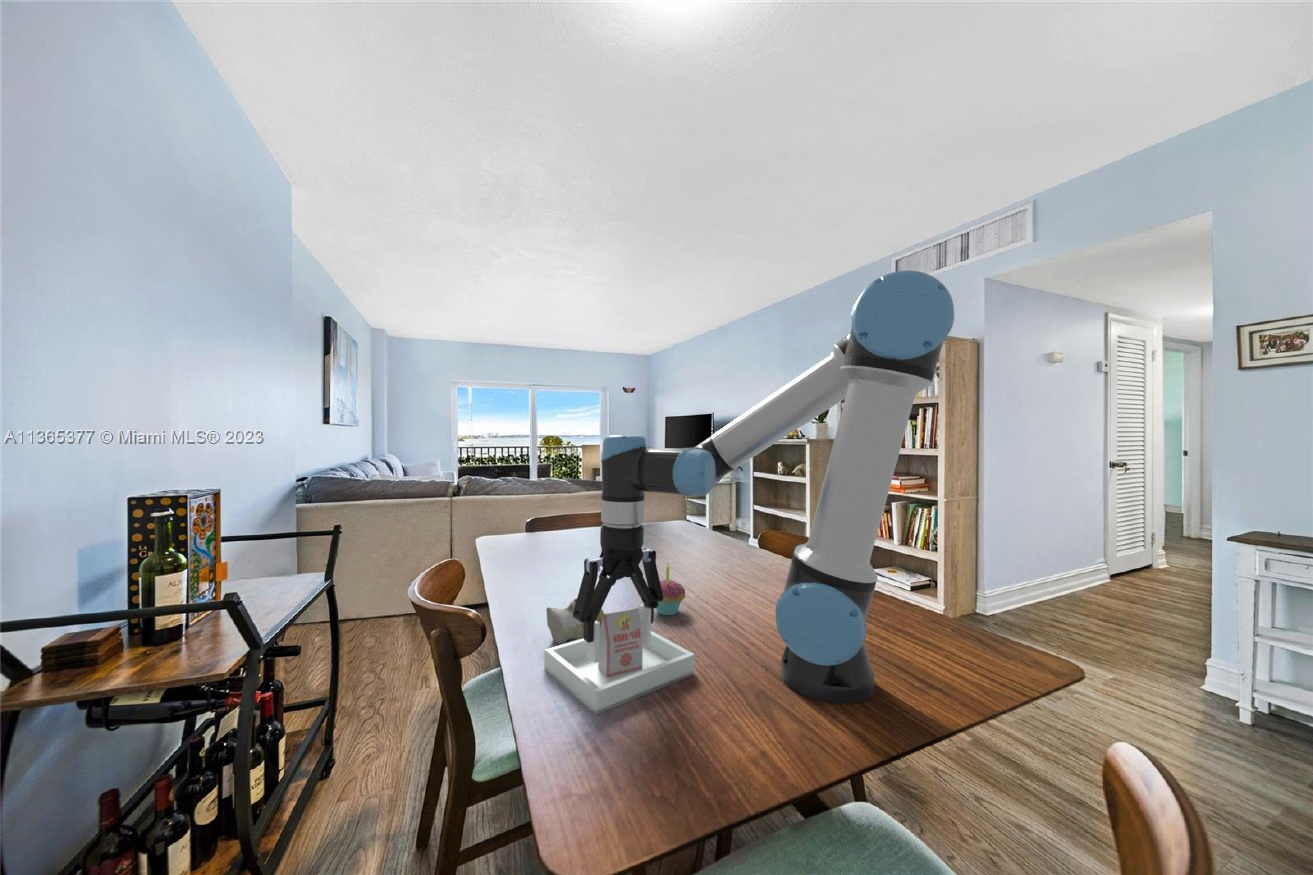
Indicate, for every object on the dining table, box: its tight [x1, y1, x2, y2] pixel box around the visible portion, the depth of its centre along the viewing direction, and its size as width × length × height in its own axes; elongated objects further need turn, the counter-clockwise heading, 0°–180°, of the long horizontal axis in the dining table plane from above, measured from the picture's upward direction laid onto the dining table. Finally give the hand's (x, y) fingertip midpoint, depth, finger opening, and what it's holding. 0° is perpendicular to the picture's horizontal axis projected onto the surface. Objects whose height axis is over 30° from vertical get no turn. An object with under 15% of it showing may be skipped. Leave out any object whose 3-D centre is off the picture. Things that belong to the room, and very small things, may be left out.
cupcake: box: [655, 562, 686, 616], centre depth 113 cm, size 9×8×12 cm
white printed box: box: [598, 607, 643, 677], centre depth 84 cm, size 4×7×10 cm, turn 120°
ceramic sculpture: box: [546, 598, 605, 645], centre depth 98 cm, size 11×9×15 cm
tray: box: [543, 630, 696, 716], centre depth 84 cm, size 17×20×4 cm
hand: (619, 650), depth 84 cm, fingers open, 10 cm apart
